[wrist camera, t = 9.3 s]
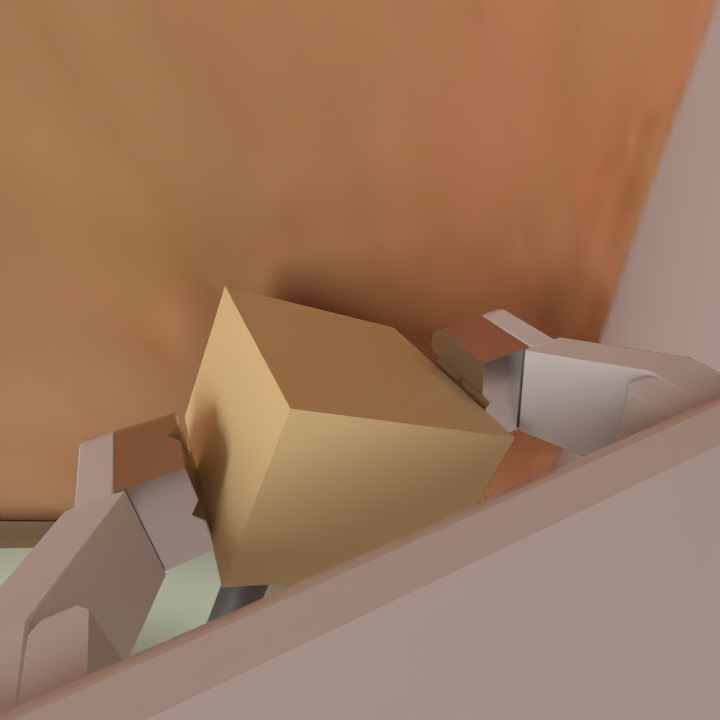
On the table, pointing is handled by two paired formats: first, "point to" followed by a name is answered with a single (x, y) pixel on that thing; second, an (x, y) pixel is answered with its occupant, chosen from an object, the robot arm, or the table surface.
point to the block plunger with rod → (324, 442)
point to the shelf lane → (173, 601)
